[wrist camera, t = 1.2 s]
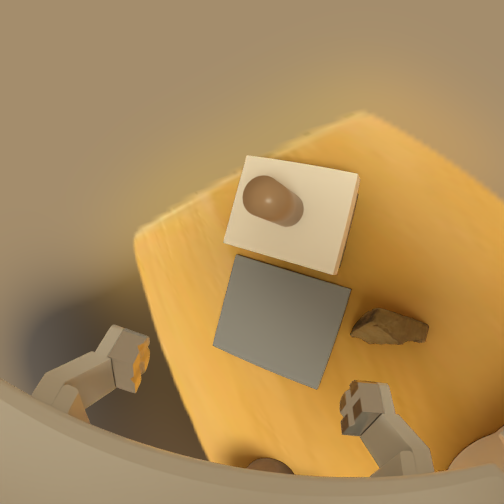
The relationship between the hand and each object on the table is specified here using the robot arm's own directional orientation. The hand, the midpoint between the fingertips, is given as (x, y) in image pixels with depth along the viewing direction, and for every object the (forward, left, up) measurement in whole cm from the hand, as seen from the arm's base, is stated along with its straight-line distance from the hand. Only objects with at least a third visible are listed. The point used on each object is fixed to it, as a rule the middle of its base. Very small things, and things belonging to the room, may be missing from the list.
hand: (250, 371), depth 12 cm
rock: (-6, +3, -36) cm, 36 cm away
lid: (+11, -9, -30) cm, 33 cm away
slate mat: (+11, +7, -35) cm, 38 cm away
